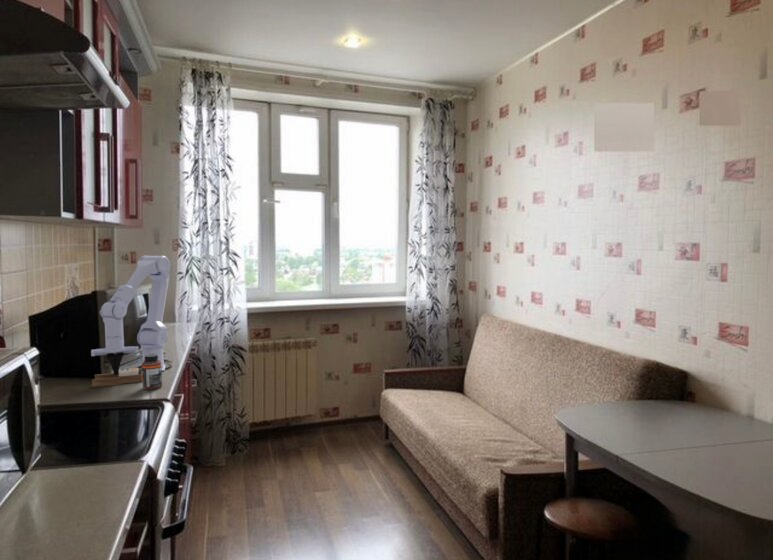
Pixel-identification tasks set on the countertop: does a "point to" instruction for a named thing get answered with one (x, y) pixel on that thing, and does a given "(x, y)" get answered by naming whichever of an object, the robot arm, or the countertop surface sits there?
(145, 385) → the supplement bottle
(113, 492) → the countertop surface
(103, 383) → the brown wooden frame
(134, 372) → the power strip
